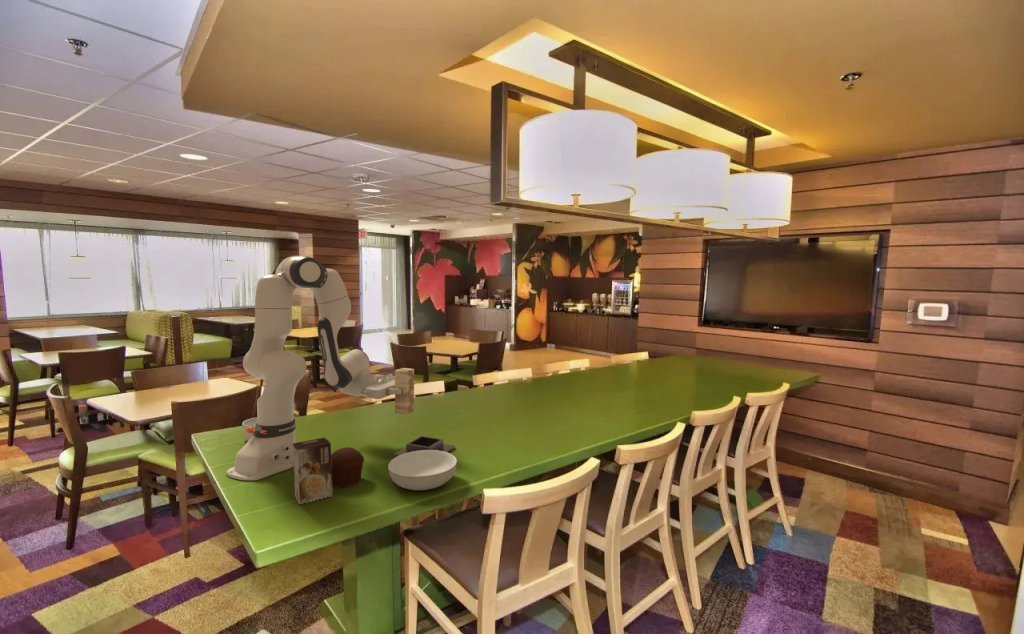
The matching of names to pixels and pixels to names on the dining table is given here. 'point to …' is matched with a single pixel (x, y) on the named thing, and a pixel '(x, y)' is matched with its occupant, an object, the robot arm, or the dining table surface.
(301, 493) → the printed cardboard box
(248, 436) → the ramekin
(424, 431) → the dining table surface
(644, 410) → the dining table surface
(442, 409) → the dining table surface
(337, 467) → the muffin
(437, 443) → the collar
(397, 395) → the pillar
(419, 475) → the serving bowl
